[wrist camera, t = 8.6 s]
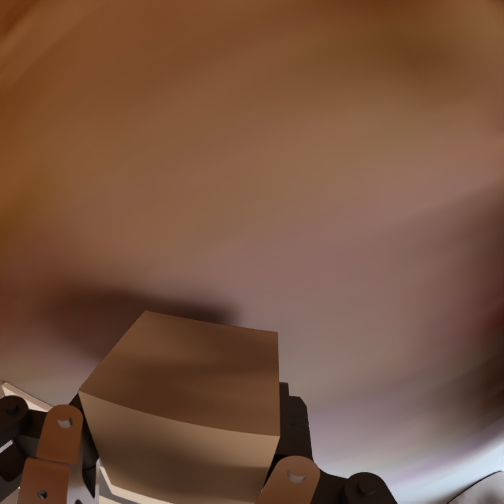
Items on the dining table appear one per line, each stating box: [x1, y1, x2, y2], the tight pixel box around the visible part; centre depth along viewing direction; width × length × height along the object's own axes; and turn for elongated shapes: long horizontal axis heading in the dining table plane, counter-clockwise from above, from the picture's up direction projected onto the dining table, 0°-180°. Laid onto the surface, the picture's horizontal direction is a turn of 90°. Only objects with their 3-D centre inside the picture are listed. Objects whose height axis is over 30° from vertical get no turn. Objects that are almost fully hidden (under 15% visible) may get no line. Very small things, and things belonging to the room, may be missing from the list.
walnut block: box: [78, 310, 280, 504], centre depth 9 cm, size 5×5×5 cm
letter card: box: [2, 382, 172, 504], centre depth 17 cm, size 15×15×1 cm
